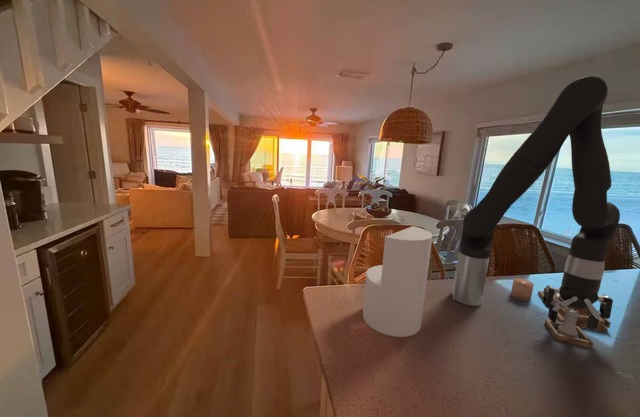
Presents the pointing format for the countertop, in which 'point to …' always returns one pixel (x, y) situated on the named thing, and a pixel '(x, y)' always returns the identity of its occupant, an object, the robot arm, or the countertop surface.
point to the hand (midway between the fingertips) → (570, 324)
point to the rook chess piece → (569, 323)
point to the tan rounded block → (522, 289)
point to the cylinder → (398, 284)
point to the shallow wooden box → (583, 316)
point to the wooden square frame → (583, 341)
